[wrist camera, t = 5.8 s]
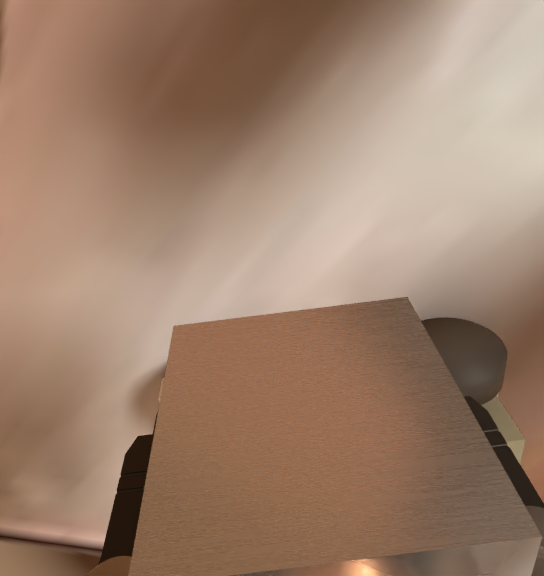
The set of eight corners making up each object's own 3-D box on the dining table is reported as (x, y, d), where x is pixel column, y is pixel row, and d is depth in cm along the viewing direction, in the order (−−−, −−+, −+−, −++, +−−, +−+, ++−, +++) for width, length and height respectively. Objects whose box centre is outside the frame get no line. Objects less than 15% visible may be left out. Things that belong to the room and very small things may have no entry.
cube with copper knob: (407, 297, 12) (588, 619, 6) (401, 457, 15) (518, 784, 9) (173, 326, 12) (109, 678, 6) (212, 480, 15) (197, 824, 9)
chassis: (495, 310, 32) (556, 383, 26) (466, 506, 43) (505, 591, 37) (155, 354, 32) (137, 437, 26) (208, 540, 42) (204, 631, 36)
